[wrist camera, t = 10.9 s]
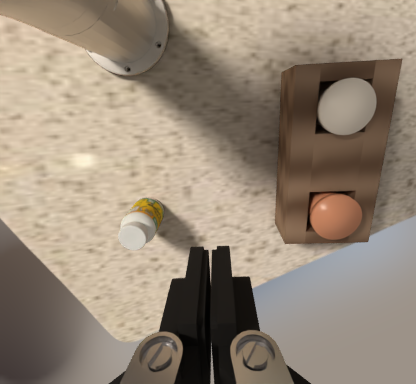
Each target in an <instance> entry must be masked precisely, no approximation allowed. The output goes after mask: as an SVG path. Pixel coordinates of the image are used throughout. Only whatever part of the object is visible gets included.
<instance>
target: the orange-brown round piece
mask: <svg viewBox="0 0 416 384" xmlns="http://www.w3.org/2000/svg"><path fill="white" fill-rule="evenodd" d="M308 214H309V216H310V223H311V225H312V227H313V229H314V230H315V231H316V233H317V234H318V235H320V236H321V237H323V238H325V239H330V240H338V239H342V238H345V237H347V236H349V235H350V234H352V233H353V232H354V231H355V230H356V229H357V228H358V226H359V225H360V223H361V219H362V210H361V207H360V205H359V204H358V203H357V202H356V201H355V200H354V199H352V198H351V197H349V196H347V195H344V194H338V193H335V192H334V191H326V192H310V193H309V204H308Z"/></svg>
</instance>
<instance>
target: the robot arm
mask: <svg viewBox="0 0 416 384" xmlns="http://www.w3.org/2000/svg"><path fill="white" fill-rule="evenodd" d="M0 15H2V16H6V17H9V18H12V19H15V20H17V21H20V22H22V23H25V24H28V25H30V26H33V27H35V28H37V29H40V30H42V31H44V32H46V33H49V34H51V35H53V36H56V37H58V38H60V39H63V40H65V41H67V42H70V43H72V44H75V45H77V46H79V47H82V48H84V49H85V50H86V52H87V53H88V55H89V56H90V57H91V58H92V59H93V60H94V61H95V62H96V63H97V64H98V65H100V66H101V67H102V68H104V69H106V70H108V71H109V72H112V73H115V74H119V75H124V76H133V75H138V74H141V73H143V72H145V71H147V70H149V69H150V68H151V67H153V66H154V65H155V64H156V63H157V62H158V60H159V59H160V58H161V56H162V54H163V52H164V50H165V47H166V44H167V40H168V34H169V22H168V16H167V11H166V8H165V5H164V3H163V1H162V0H155V1H154V0H0ZM159 44H161V47H160V48H158V45H159ZM128 68H130V69H131V70H130V71H128ZM211 343H212V356H213V370H214V384H311V383H309V382H308V381H307V380H306V379H304V378H303V377H302V376H300V375H299V374H298V373H297V372H295V371H294V370H293V369H291V368H290V367H289V366H287V365H286V363H285V361H284V359H283V356H282V354H281V352H280V350H279V347H278V345H277V344H276V342H275V341H274V340H273V339H272V338H271V337H270V336H269V335H267V334H265V333H263V332H260V329H259V323H258V318H257V312H256V307H255V302H254V297H253V292H252V286H251V281H250V277H232V270H231V259H230V248H229V246H217V250H212V272H211V281H210V266H209V252H208V250H204V247H191V248H190V254H189V260H188V266H187V271H186V277H185V278H176V279H172V281H171V285H170V289H169V293H168V297H167V301H166V305H165V309H164V313H163V317H162V321H161V325H160V329H159V332H157V333H154V334H152V335H150V336H148V337H146V338H145V339H144V340H143V341H142V342H141V343H140V344H139V346H138V348H137V349H136V351H135V353H134V355H133V357H132V359H131V362H130V363H129V365H128V368H127V369H126V371H125V372H123V373H122V374H121V375H120V376H118V377H117V378H116V379H114V380H113V381H112V382H111V383H109V384H210V375H211V373H210V372H211Z"/></svg>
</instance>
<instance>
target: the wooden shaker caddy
mask: <svg viewBox="0 0 416 384" xmlns="http://www.w3.org/2000/svg"><path fill="white" fill-rule="evenodd" d="M401 64H402V59H390V60H374V61H357V62H340V63H323V64H306V65H295V66H293V67H291V68H289V69H288V70H286V71H284V72H282V78H281V100H280V122H279V145H278V167H277V190H276V212H275V224H276V226H277V228H278V230H279V232H280V234H281V236H282V238H283V241H284V243H285V244H302V243H350V242H368V240H369V235H370V230H371V224H372V219H373V214H374V208H375V203H376V197H377V192H378V187H379V181H380V176H381V171H382V165H383V160H384V155H385V149H386V144H387V139H388V133H389V128H390V122H391V117H392V112H393V106H394V101H395V96H396V90H397V85H398V80H399V74H400V69H401ZM347 78H359V79H363V80H365V81H366V82H368V83H369V84H370V85H371V86H372V88H373V89H374V91H375V94H376V102H377V103H376V109H375V112H374V115H373V117H372V118H371V120H370V121H369V122H368V124H367V125H366V126H365V127H363V128H362V129H361V130H359V131H357V132H355V133H353V134H349V135H337V134H334V133H330V132H328V131H327V130H325V129H324V128H323V127H322V125H319V124H317V123H316V116H317V105H318V95H319V91H321V90H323V89H326V88H328V87H329V86H330V85H332V84H333V83H335V82H337V81H339V80H343V79H347ZM326 191H334V192H335V193H338V194H344V195H347V196H349V197H351V198H352V199H354V200H355V201H356V202H357V203H358V204H359V205H360V207H361V210H362V219H361V223H360V225H359V226H358V228H357V229H356V230H355V231H354V232H353V233H352V234H350V235H349V236H347V237H345V238H342V239H338V240H330V239H325V238H323V237H321V236H320V235H318V234H317V233H316V231H315V230H314V229H313V227H312V225H311V223H310V216H309V214H308V204H309V193H310V192H326Z"/></svg>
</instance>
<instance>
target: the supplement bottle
mask: <svg viewBox="0 0 416 384" xmlns="http://www.w3.org/2000/svg"><path fill="white" fill-rule="evenodd" d="M163 216H164V209H163V206H162V205H161V203H160V202H159V201H157V200H156V199H153V198H150V197H145V198H142V199H140V200H138V201H137V202H136V203H135V205H134V206H133V207H132V208H131V209H130V211H129V212H128V213H127V214H126V216H125V217H124V218H123V220H122V222H121V226H120V229H121V230H120V231H119V234H118V238H119V241H120V243H121V245H122V246H123V247H125V248H127V249H129V250H139V249H141V248H142V247H143V246H144V245H145V244H146V243H148V242H149V241H151V240H152V239H153V237H154V235H155V233H156V231H157V229H158V227H159V225H160V223H161V221H162V219H163Z"/></svg>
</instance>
